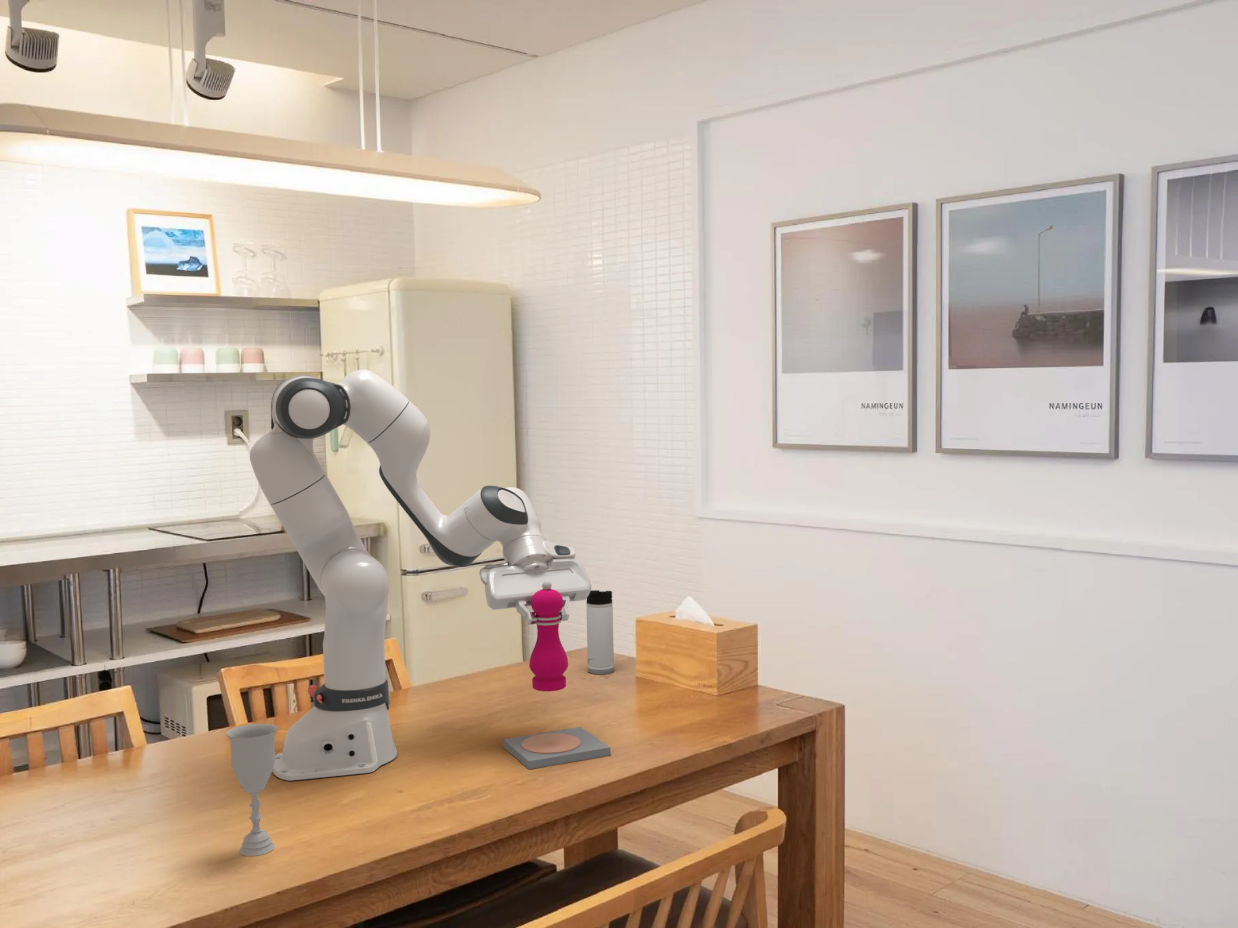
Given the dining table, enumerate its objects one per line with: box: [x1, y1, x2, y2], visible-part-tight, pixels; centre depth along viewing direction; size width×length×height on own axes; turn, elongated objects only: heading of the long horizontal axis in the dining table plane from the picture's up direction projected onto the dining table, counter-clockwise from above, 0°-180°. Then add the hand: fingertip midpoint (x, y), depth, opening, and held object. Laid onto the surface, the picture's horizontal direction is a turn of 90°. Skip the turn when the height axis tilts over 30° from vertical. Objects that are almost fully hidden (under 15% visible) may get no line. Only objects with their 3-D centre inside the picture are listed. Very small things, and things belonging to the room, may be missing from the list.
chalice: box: [225, 723, 278, 857], centre depth 163 cm, size 7×7×18 cm
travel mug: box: [585, 589, 615, 675], centre depth 262 cm, size 6×7×20 cm
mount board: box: [502, 726, 612, 770], centre depth 205 cm, size 16×14×2 cm
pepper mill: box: [529, 581, 569, 692], centre depth 204 cm, size 7×7×20 cm
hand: (548, 620), depth 203 cm, fingers closed on pepper mill, 5 cm apart
